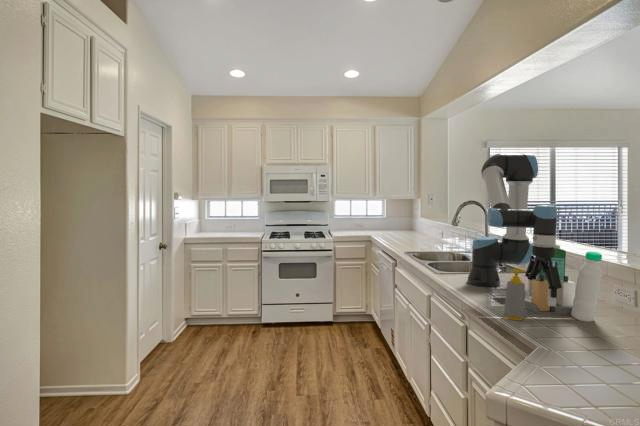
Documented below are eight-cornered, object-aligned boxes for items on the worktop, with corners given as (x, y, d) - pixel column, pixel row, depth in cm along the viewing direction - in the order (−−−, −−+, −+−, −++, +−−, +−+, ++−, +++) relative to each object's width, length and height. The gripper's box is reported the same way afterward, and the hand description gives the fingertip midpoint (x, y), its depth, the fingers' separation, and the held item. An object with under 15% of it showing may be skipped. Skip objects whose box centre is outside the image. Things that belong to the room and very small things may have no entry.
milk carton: (563, 306, 157) (566, 245, 156) (538, 304, 159) (541, 244, 158) (555, 300, 166) (558, 242, 164) (532, 298, 168) (534, 241, 167)
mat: (490, 299, 166) (490, 297, 166) (513, 299, 166) (513, 298, 166) (501, 305, 156) (501, 304, 156) (525, 306, 156) (526, 304, 156)
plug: (542, 307, 151) (544, 274, 151) (549, 310, 147) (551, 276, 146) (531, 307, 151) (532, 274, 151) (537, 310, 147) (539, 276, 146)
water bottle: (588, 324, 137) (601, 257, 131) (567, 316, 142) (578, 252, 137) (597, 319, 141) (610, 254, 135) (575, 311, 146) (587, 248, 141)
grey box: (524, 308, 154) (525, 273, 153) (577, 308, 154) (579, 274, 153) (536, 315, 145) (538, 278, 144) (593, 316, 145) (595, 279, 144)
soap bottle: (518, 322, 137) (520, 272, 136) (500, 316, 142) (501, 268, 141) (529, 319, 140) (531, 270, 139) (510, 313, 146) (512, 266, 145)
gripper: (517, 241, 160) (515, 292, 161) (553, 250, 135) (550, 310, 137) (535, 241, 160) (533, 292, 161) (574, 250, 135) (571, 310, 136)
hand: (541, 300), depth 149 cm, fingers open, 13 cm apart
